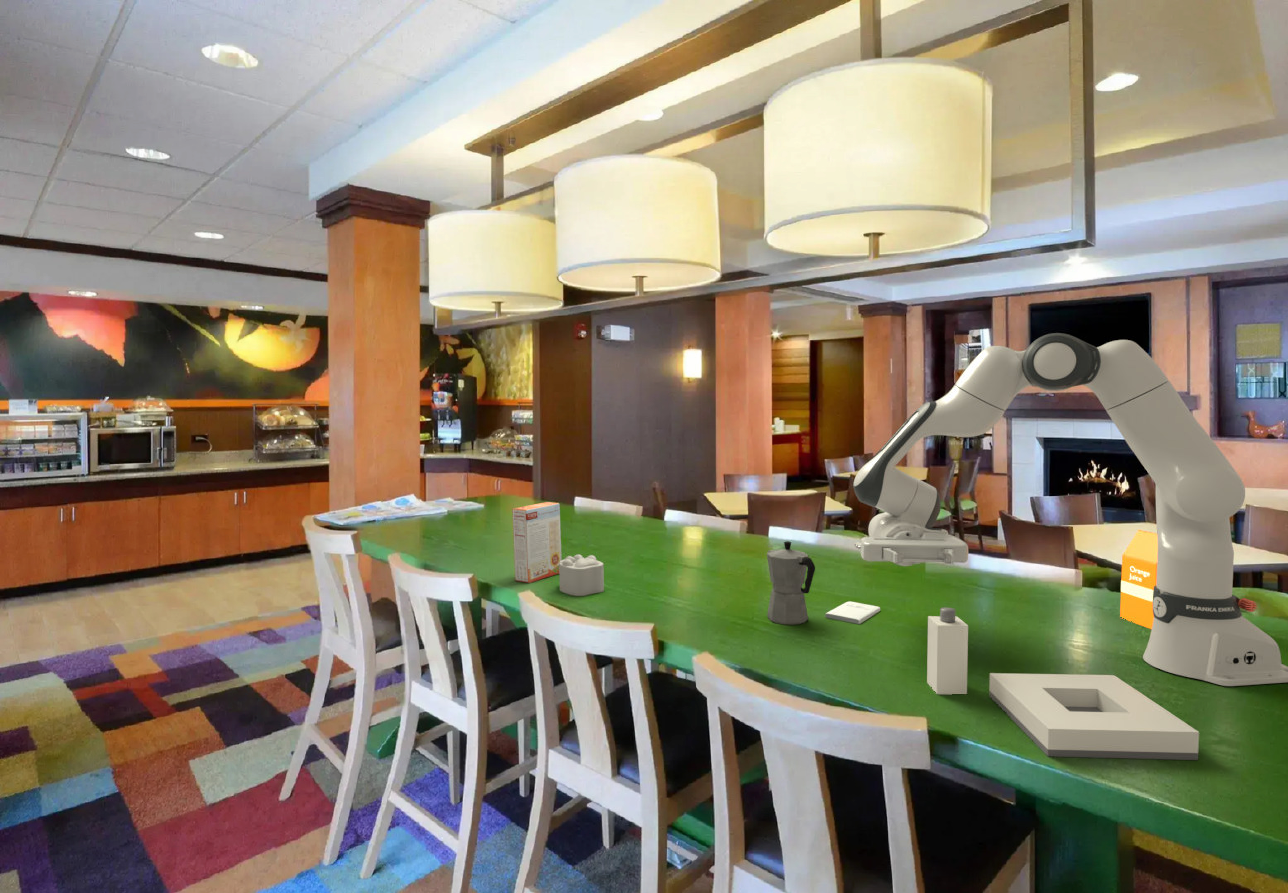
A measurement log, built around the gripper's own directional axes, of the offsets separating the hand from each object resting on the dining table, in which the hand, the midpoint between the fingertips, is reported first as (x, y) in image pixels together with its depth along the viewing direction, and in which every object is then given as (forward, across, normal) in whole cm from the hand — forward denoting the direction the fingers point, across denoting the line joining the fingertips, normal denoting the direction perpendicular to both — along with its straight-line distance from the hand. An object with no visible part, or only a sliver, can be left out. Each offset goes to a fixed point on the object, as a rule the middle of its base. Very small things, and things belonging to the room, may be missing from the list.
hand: (924, 559), depth 133 cm
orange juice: (-26, +58, +20) cm, 66 cm away
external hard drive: (-30, -6, +21) cm, 37 cm away
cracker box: (-62, -89, +22) cm, 110 cm away
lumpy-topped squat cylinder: (-50, -75, +22) cm, 92 cm away
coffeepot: (-25, -22, +21) cm, 39 cm away
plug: (+12, 0, +20) cm, 23 cm away
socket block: (+25, +16, +20) cm, 36 cm away
